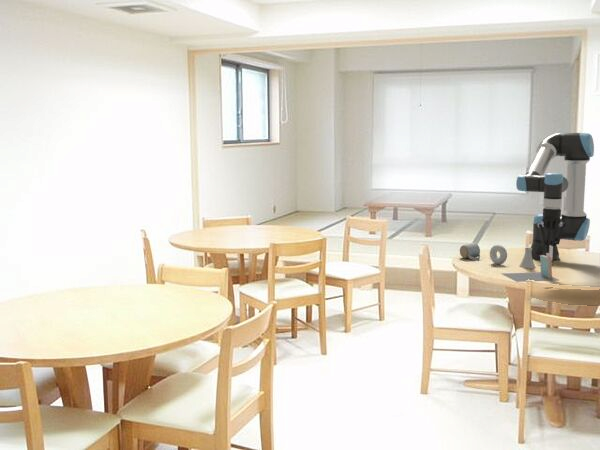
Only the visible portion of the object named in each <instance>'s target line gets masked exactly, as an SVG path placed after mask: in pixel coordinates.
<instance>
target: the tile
mask: <svg viewBox="0 0 600 450" xmlns="http://www.w3.org/2000/svg"><path fill="white" fill-rule="evenodd" d="M539 264H540V272H541V275H543V276H545V277H547V278H552V277H553V269H552V268H553V267H552V261H551V258H550V257H547V256H545V255H540V263H539Z"/></svg>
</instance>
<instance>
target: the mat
mask: <svg viewBox="0 0 600 450" xmlns="http://www.w3.org/2000/svg"><path fill="white" fill-rule="evenodd" d="M501 275H503V276H504V277H507V278H508V279H511V280H512V281H514V282H516V283H517V282H520V283H521V282H527V281H526V280H528V279H529V280H534V281H533V282H546V281H550V282H551V281H553V282H554V281H559V279H558V278H557V277H556V278H555V277H554V276H552V278H547V277H545V276H543V275H541V271H540V272H539V271H538V272H537V271H536V272H513V273H512V272H509V273H507V272H506V273H501Z"/></svg>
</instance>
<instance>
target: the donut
mask: <svg viewBox="0 0 600 450" xmlns="http://www.w3.org/2000/svg"><path fill="white" fill-rule="evenodd" d="M498 253H499V257H498V255H497V254H498ZM489 258H490V260H491V262H492V263H493V264H495V265H503V264H504V263H506V261H507V258H508V251H507V250H506V248H505V247H504V246H503V245H502V244H495V245H493V246H492V247H491V248H490V250H489Z"/></svg>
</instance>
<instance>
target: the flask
mask: <svg viewBox="0 0 600 450" xmlns="http://www.w3.org/2000/svg"><path fill="white" fill-rule="evenodd" d="M531 250H532V248H530V247H524V251H525V252H524V255H523V257H522V260H521V262H520V264H519V267H518V268H523V269H536V268H537V267H536V266H535V263H534V259H533V258H532V254H531Z"/></svg>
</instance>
